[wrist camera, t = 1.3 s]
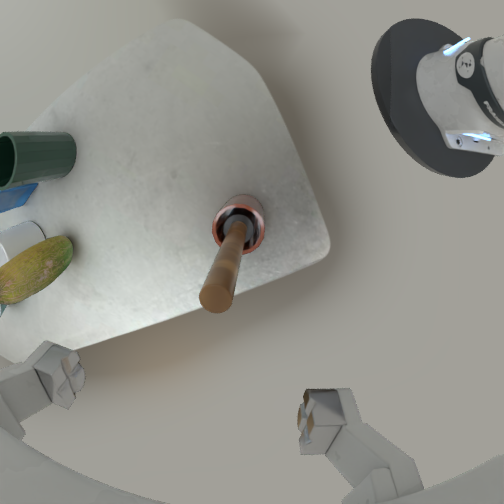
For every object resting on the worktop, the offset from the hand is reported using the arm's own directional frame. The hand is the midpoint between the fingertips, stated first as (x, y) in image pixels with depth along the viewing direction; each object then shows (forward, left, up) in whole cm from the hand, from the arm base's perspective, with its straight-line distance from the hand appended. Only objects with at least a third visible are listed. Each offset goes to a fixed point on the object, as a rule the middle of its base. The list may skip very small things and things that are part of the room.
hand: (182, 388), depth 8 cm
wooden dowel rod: (0, 0, -29) cm, 29 cm away
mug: (+40, +8, -30) cm, 50 cm away
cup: (+30, -8, -29) cm, 43 cm away
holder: (0, 0, -29) cm, 29 cm away
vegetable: (+28, +7, -30) cm, 41 cm away
